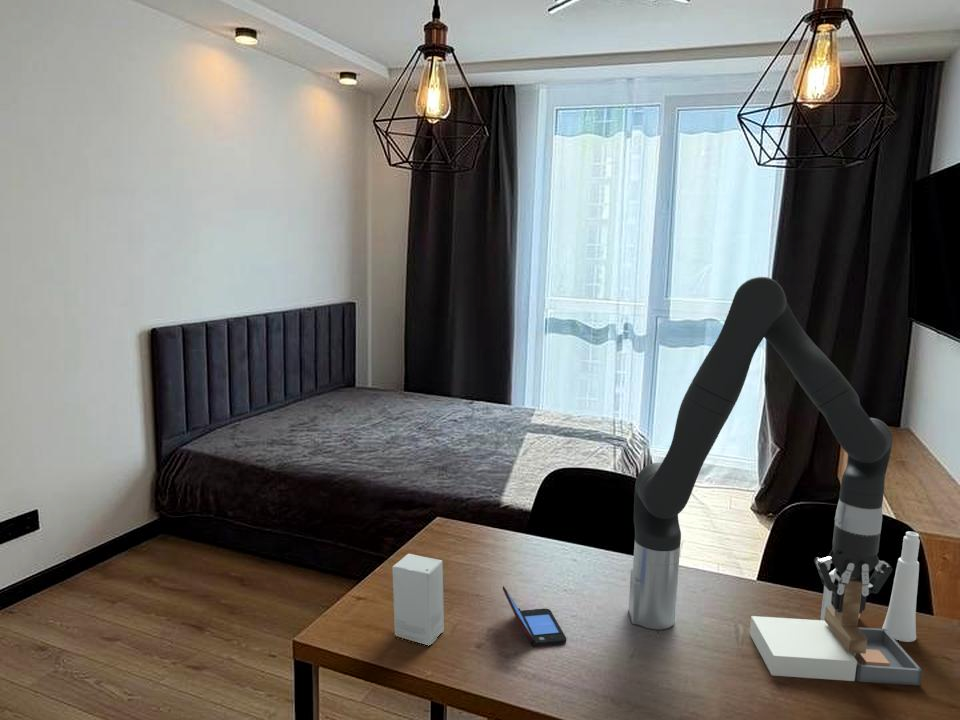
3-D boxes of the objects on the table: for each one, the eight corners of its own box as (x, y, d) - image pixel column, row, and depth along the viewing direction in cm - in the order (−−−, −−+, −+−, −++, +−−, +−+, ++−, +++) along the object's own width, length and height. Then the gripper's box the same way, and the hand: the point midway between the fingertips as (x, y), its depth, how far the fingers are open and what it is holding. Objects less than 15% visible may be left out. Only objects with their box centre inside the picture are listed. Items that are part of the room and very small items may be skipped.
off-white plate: (771, 675, 126) (773, 655, 126) (749, 634, 140) (751, 616, 139) (854, 681, 125) (857, 661, 124) (824, 638, 138) (826, 620, 138)
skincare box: (444, 632, 138) (445, 560, 136) (428, 649, 132) (429, 574, 130) (408, 621, 142) (408, 551, 139) (391, 638, 136) (391, 565, 133)
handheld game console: (568, 645, 135) (569, 610, 134) (514, 651, 133) (515, 615, 132) (549, 612, 147) (550, 580, 146) (500, 616, 145) (501, 584, 144)
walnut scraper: (848, 652, 126) (855, 592, 124) (824, 620, 137) (830, 564, 135) (865, 653, 126) (873, 593, 123) (839, 621, 136) (846, 564, 134)
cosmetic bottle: (878, 623, 144) (891, 525, 141) (910, 628, 143) (924, 529, 139) (886, 639, 139) (900, 537, 135) (920, 644, 137) (935, 541, 133)
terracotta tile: (889, 663, 127) (888, 673, 127) (878, 650, 131) (877, 659, 131) (866, 661, 127) (865, 671, 127) (856, 648, 131) (854, 658, 131)
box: (856, 681, 125) (858, 666, 125) (825, 638, 138) (827, 625, 138) (920, 685, 124) (922, 670, 124) (883, 642, 138) (885, 629, 137)
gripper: (826, 531, 124) (817, 619, 127) (907, 535, 123) (896, 624, 126) (810, 515, 131) (801, 598, 134) (887, 519, 130) (876, 602, 133)
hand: (847, 610), depth 130 cm, fingers closed on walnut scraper, 3 cm apart
